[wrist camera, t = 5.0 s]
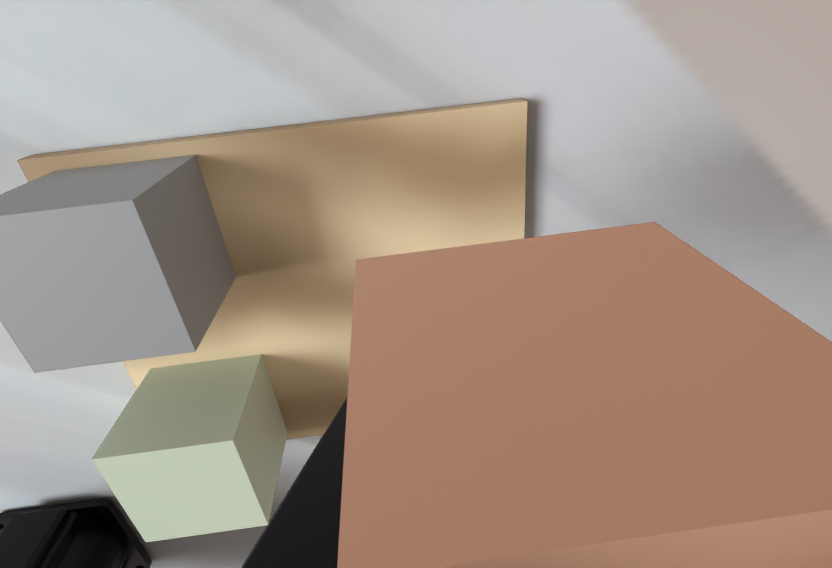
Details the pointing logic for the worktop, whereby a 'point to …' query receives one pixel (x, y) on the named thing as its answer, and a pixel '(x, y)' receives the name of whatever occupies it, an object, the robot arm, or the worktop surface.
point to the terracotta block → (581, 411)
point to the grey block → (111, 263)
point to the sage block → (197, 449)
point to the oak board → (331, 226)
